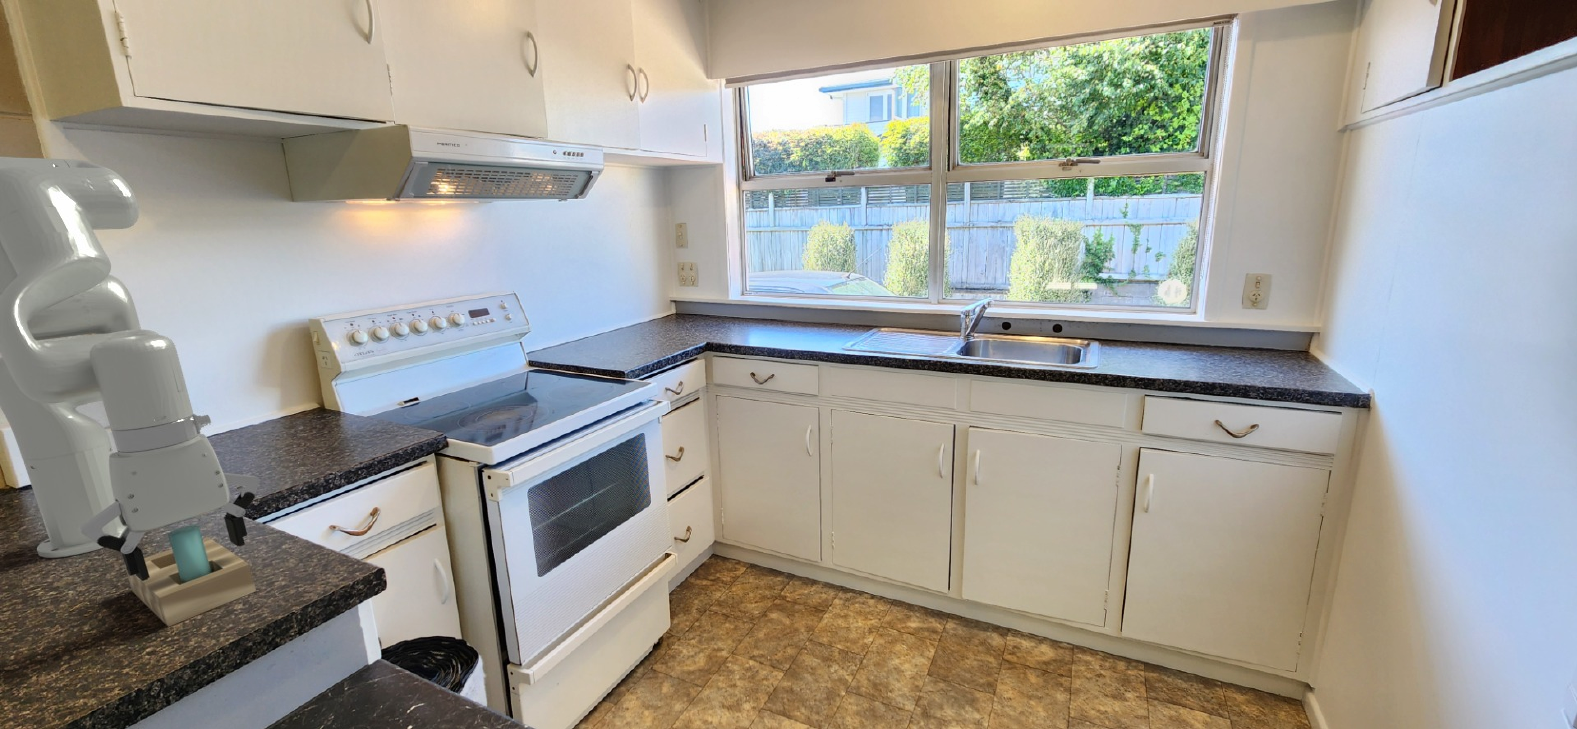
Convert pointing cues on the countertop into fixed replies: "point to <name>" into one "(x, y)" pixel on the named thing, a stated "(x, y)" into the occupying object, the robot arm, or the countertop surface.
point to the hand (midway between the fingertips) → (192, 559)
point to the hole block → (192, 584)
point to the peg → (189, 553)
